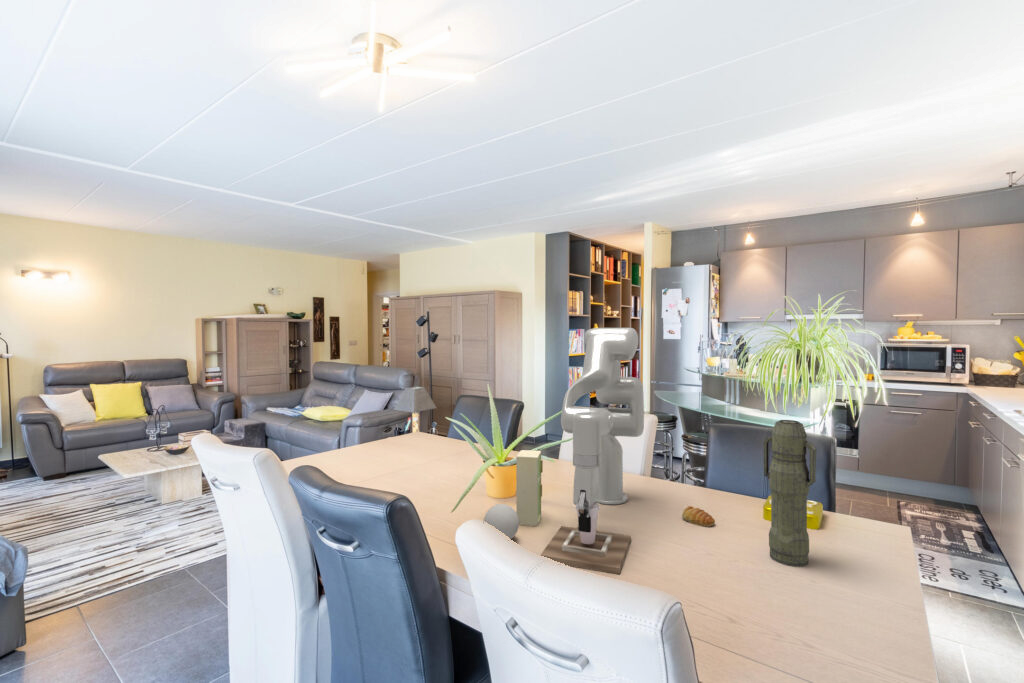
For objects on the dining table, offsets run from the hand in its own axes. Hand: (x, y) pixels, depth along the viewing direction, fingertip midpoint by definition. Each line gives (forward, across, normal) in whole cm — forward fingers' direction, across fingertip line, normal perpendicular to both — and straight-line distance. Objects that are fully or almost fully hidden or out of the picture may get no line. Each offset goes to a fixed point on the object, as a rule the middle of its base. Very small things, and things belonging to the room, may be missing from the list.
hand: (587, 525), depth 131 cm
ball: (+7, +2, -24) cm, 25 cm away
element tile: (+7, -44, +54) cm, 71 cm away
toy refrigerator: (+7, -14, -21) cm, 26 cm away
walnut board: (+7, 0, 0) cm, 7 cm away
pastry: (+7, -31, +27) cm, 42 cm away
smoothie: (+4, 0, 0) cm, 4 cm away
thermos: (+7, -13, +49) cm, 51 cm away
